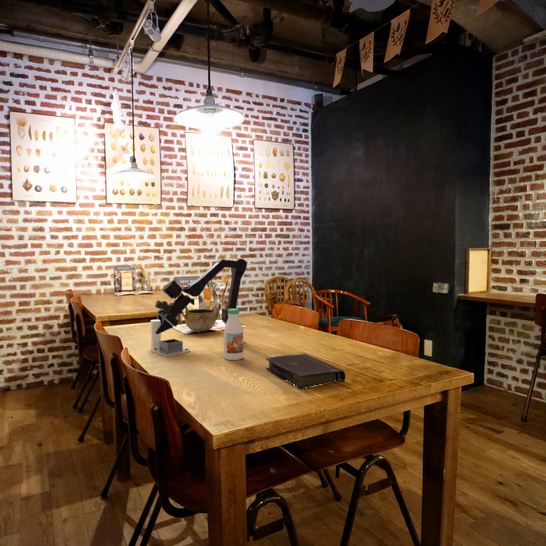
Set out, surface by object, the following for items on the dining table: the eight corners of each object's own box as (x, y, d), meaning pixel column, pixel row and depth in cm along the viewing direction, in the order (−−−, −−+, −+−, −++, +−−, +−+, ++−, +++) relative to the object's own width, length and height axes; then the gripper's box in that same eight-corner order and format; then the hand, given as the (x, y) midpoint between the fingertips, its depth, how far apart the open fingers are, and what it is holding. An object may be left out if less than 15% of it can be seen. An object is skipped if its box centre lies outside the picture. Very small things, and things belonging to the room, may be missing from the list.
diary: (307, 365, 166) (307, 352, 166) (345, 384, 144) (345, 369, 143) (263, 370, 158) (263, 357, 157) (297, 391, 135) (297, 375, 135)
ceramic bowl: (183, 336, 216) (183, 306, 215) (175, 330, 231) (175, 302, 230) (225, 332, 226) (225, 303, 225) (215, 326, 241) (215, 300, 240)
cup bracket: (176, 346, 193) (176, 337, 193) (190, 351, 184) (190, 341, 184) (151, 351, 185) (151, 341, 185) (165, 356, 176) (165, 345, 176)
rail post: (159, 346, 193) (158, 319, 192) (160, 348, 190) (160, 320, 189) (151, 347, 192) (150, 320, 191) (152, 349, 188) (152, 321, 188)
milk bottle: (220, 359, 172) (220, 309, 171) (231, 354, 179) (230, 307, 178) (236, 361, 169) (236, 311, 167) (246, 357, 175) (246, 308, 174)
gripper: (161, 291, 200) (137, 316, 196) (170, 295, 183) (144, 323, 179) (178, 307, 204) (155, 332, 200) (188, 313, 187) (163, 340, 183)
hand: (154, 331), depth 190 cm, fingers open, 9 cm apart
